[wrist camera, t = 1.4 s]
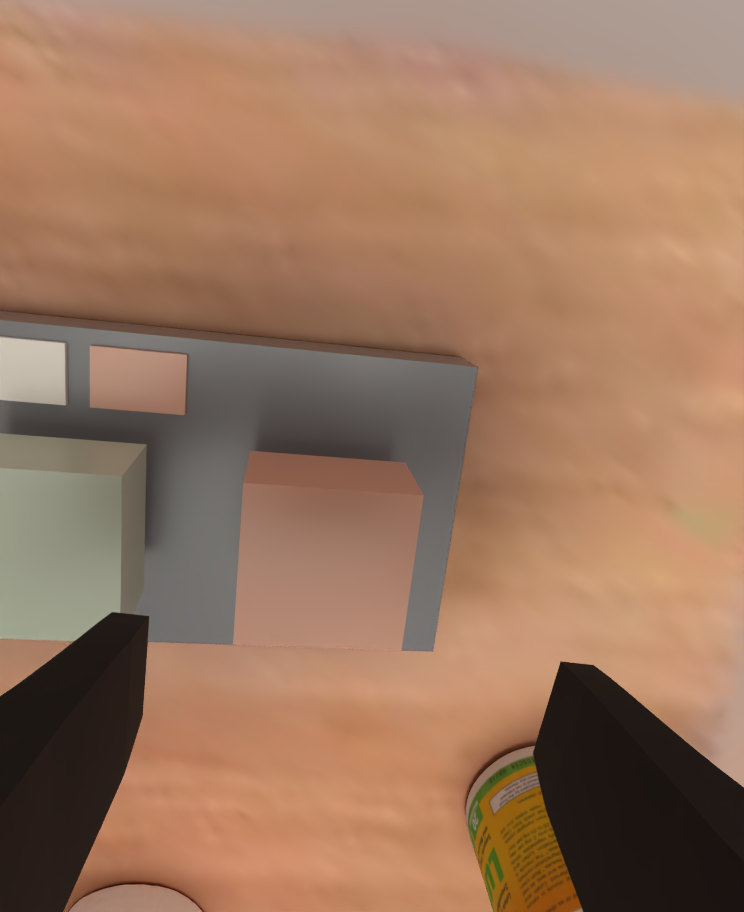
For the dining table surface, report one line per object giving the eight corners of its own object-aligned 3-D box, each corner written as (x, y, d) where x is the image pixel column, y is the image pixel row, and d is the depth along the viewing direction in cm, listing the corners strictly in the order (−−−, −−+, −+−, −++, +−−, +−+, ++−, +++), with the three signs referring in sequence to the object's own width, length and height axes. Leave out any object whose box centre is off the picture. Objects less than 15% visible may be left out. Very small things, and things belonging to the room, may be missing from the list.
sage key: (-19, 582, 17) (-71, 636, 14) (-28, 431, 16) (-85, 461, 13) (143, 590, 17) (119, 642, 15) (146, 444, 16) (121, 476, 14)
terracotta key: (240, 593, 18) (232, 645, 15) (249, 450, 17) (242, 482, 14) (387, 599, 18) (401, 651, 16) (405, 462, 17) (424, 495, 15)
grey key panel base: (-269, 589, 20) (-336, 629, 17) (-322, 278, 17) (-406, 280, 15) (420, 618, 23) (434, 655, 20) (460, 356, 20) (480, 368, 18)
